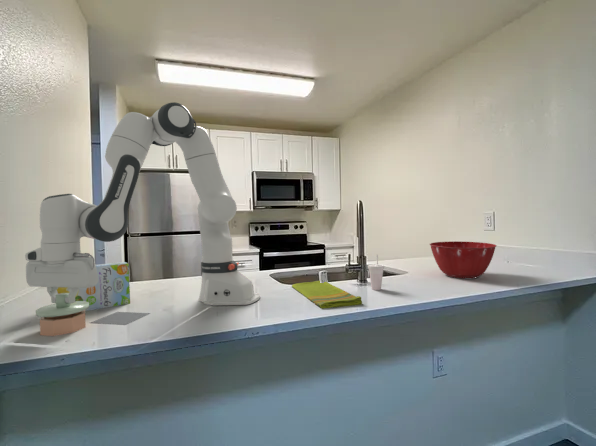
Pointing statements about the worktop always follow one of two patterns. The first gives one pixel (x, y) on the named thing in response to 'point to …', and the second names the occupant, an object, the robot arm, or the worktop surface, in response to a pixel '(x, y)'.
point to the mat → (120, 318)
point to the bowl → (62, 324)
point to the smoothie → (376, 275)
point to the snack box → (106, 287)
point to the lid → (62, 307)
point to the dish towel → (326, 294)
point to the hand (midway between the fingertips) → (63, 302)
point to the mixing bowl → (463, 258)
